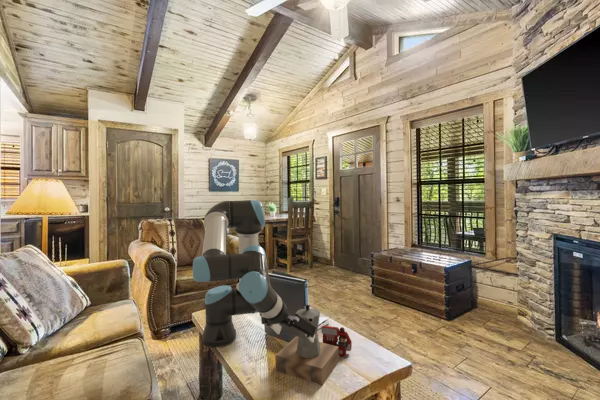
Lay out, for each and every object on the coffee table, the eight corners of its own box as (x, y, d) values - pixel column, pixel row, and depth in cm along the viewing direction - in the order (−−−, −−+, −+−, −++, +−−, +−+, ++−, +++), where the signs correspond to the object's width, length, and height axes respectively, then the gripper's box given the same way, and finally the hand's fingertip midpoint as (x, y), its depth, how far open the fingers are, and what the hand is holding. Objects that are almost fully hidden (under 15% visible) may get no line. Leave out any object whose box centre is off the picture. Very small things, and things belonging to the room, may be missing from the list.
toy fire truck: (350, 358, 118) (350, 332, 117) (320, 354, 121) (319, 329, 121) (352, 349, 124) (352, 325, 124) (323, 345, 128) (323, 322, 127)
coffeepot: (324, 360, 106) (323, 310, 106) (298, 363, 105) (297, 313, 104) (315, 339, 121) (315, 296, 121) (293, 341, 120) (292, 297, 119)
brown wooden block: (275, 370, 110) (275, 355, 110) (296, 350, 124) (296, 336, 124) (322, 385, 101) (321, 368, 101) (338, 361, 116) (338, 346, 115)
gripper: (234, 312, 94) (262, 337, 108) (304, 327, 83) (325, 353, 96) (244, 290, 99) (270, 317, 112) (311, 302, 87) (331, 330, 101)
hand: (296, 334), depth 104 cm, fingers open, 13 cm apart
